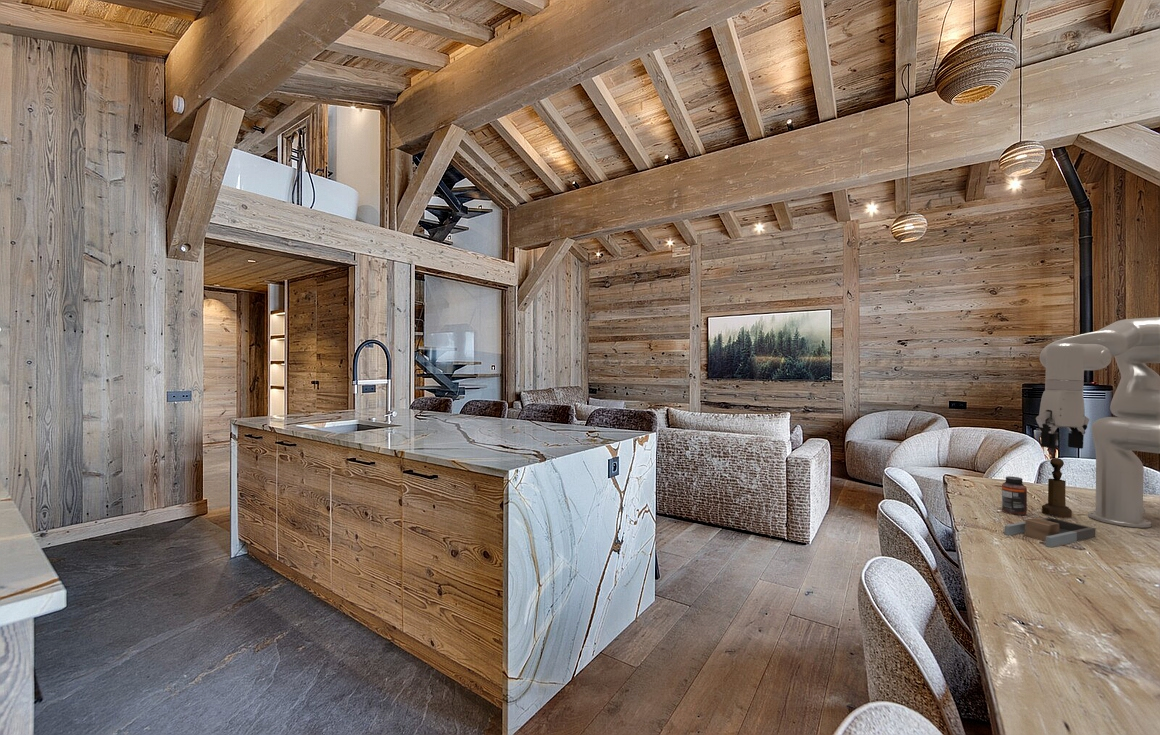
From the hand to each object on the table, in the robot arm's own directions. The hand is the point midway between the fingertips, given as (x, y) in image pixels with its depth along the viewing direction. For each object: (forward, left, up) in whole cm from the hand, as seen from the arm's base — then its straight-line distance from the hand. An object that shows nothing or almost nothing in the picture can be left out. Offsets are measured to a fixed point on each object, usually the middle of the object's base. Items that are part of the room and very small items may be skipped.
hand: (1061, 447), depth 132 cm
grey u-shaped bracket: (+6, 0, -24) cm, 25 cm away
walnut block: (+9, 0, -24) cm, 26 cm away
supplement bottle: (-10, -16, -25) cm, 31 cm away
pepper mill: (-20, -10, -25) cm, 33 cm away
